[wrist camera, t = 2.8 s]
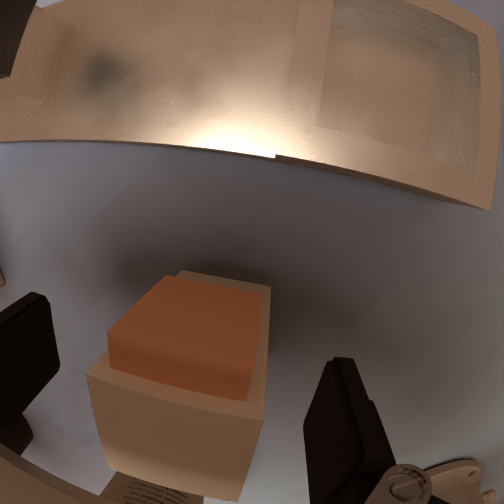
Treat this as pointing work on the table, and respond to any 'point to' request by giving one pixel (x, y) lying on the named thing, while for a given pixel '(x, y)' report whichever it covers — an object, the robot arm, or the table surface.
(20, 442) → the travel mug
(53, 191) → the table surface
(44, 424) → the table surface
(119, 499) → the coffee cup
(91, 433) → the table surface
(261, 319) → the beige orange block
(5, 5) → the rail
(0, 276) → the small box
